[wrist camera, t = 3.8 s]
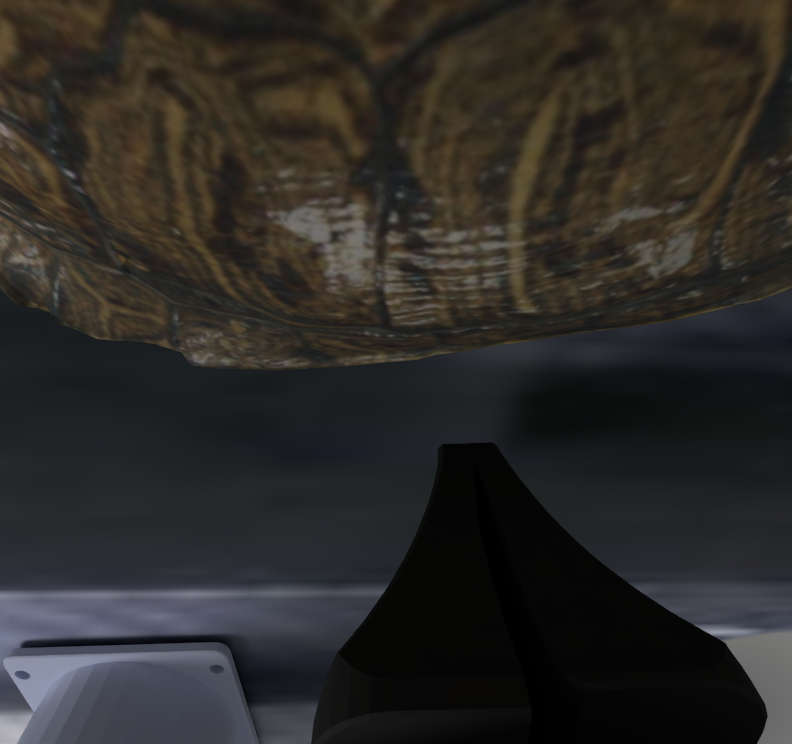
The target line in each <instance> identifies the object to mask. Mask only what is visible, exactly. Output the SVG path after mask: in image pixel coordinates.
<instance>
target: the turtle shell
mask: <svg viewBox="0 0 792 744" xmlns="http://www.w3.org/2000/svg"><path fill="white" fill-rule="evenodd" d="M789 289H792V0H0V290H1V291H2V293H3V294H5V295H6V296H7V297H9V298H10V299H11V300H13V301H14V302H15V303H16V304H18V305H19V306H26V307H34V308H39V309H42V310H46V311H48V312H49V315H50V319H51V322H52V324H57V325H63V326H68V327H71V328H73V329H76V330H78V331H81V332H84V333H86V334H88V335H90V336H92V337H94V338H96V339H104V340H127V341H136V342H145V343H154V344H157V345H160V346H163V347H166V348H169V349H172V350H176V351H179V352H181V353H182V354H183V355H184V356H185V358H186V359H187V360H188V361H189V362H190V364H191V365H192V366H197V367H205V368H214V369H260V370H294V369H304V368H315V367H338V366H352V365H361V364H370V363H379V362H393V361H406V360H417V359H421V358H425V357H429V356H433V355H438V354H446V353H454V352H462V351H467V350H472V349H477V348H482V347H487V346H493V345H501V344H509V343H517V342H525V341H531V340H538V339H544V338H551V337H557V336H564V335H570V334H576V333H583V332H592V331H600V330H609V329H617V328H626V327H634V326H640V325H647V324H653V323H660V322H667V321H673V320H677V319H681V318H685V317H689V316H694V315H698V314H702V313H706V312H711V311H715V310H719V309H723V308H727V307H732V306H736V305H741V304H745V303H750V302H754V301H759V300H761V299H764V298H767V297H770V296H772V295H775V294H778V293H781V292H784V291H786V290H789Z"/></svg>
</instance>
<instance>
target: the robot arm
mask: <svg viewBox="0 0 792 744" xmlns="http://www.w3.org/2000/svg"><path fill="white" fill-rule="evenodd" d="M3 664H4V666H5V668H6V670H7V671H8V673H9V674H10V676H11V677H12V679H13V681H14V682H15V684H16V685H17V687H18V688H19V690H20V691H21V693H22V694H23V696H24V698H25V699H26V701H27V702H28V704H29V705H30V707H31V708H32V710H33V711H34V714H33V716H32V718H31V720H30V721H29V723H28V725H27V727H26V728H25V730H24V732H23V734H22V736H21V737H20V739H19V741H18V743H17V744H259V741H258V737H257V734H256V731H255V728H254V725H253V721H252V718H251V715H250V712H249V708H248V705H247V702H246V699H245V696H244V692H243V689H242V686H241V683H240V679H239V676H238V673H237V670H236V667H235V663H234V660H233V657H232V654H231V651H230V649H229V648H228V646H226V645H225V644H222V643H220V642H200V643H167V644H135V645H103V646H71V647H38V648H17V649H13V650H11V651H10V652H9V653H8V655H7V656H6V658H5V659H4V661H3ZM766 720H767V711H766V707H765V703H764V702H763V700H762V698H761V697H760V695H759V693H758V692H757V690H756V688H755V687H754V685H753V683H752V681H751V680H750V678H749V677H748V675H747V674H746V672H745V670H744V669H743V667H742V666H741V665H740V663H739V662H738V661H737V659H736V658H735V657H734V655H733V654H732V652H731V651H730V650H729V648H728V647H727V645H726V644H725V643H724V642H723V641H721V640H719V639H717V638H716V637H714V636H712V635H710V634H709V633H707V632H705V631H703V630H701V629H700V628H698V627H696V626H694V625H693V624H691V623H689V622H687V621H686V620H684V619H682V618H680V617H679V616H677V615H675V614H674V613H672V612H670V611H669V610H667V609H666V608H664V607H663V606H661V605H659V604H658V603H656V602H655V601H653V600H652V599H650V598H649V597H647V596H646V595H644V594H643V593H641V592H640V591H638V590H637V589H636V588H634V587H633V586H631V585H630V584H629V583H627V582H626V581H625V580H623V579H622V578H621V577H619V576H618V575H617V574H615V573H614V572H613V571H611V570H610V569H609V568H607V567H606V566H605V565H603V564H602V563H601V562H600V561H599V560H597V559H596V558H595V557H594V556H593V555H592V554H590V553H589V552H588V551H587V550H586V549H585V548H584V547H583V546H581V545H580V544H579V543H578V542H577V541H576V540H575V539H574V538H573V537H572V536H571V535H570V534H569V533H568V532H567V531H566V530H565V529H564V528H563V527H562V526H561V525H560V524H559V523H558V522H557V521H556V520H555V519H554V518H553V517H552V516H551V515H550V514H549V513H548V512H547V511H546V509H545V508H544V507H543V506H542V505H541V504H540V503H539V501H538V500H537V499H536V498H535V497H534V495H533V494H532V493H531V492H530V491H529V490H528V488H527V487H526V486H525V485H524V483H523V482H522V481H521V480H520V478H519V477H518V476H517V474H516V473H515V472H514V470H513V469H512V468H511V466H510V465H509V463H508V462H507V461H506V459H505V458H504V456H503V455H502V453H501V452H500V450H499V449H498V447H497V446H496V445H495V444H494V443H468V444H443V445H441V446H440V447H439V448H438V467H437V473H436V477H435V482H434V485H433V489H432V492H431V496H430V499H429V503H428V505H427V508H426V511H425V513H424V516H423V519H422V521H421V524H420V526H419V529H418V531H417V533H416V536H415V538H414V540H413V542H412V544H411V546H410V548H409V550H408V552H407V554H406V556H405V558H404V560H403V562H402V564H401V565H400V567H399V569H398V571H397V572H396V574H395V576H394V578H393V579H392V581H391V583H390V584H389V586H388V587H387V589H386V590H385V592H384V593H383V595H382V596H381V598H380V599H379V600H378V602H377V603H376V605H375V606H374V608H373V609H372V610H371V612H370V613H369V615H368V616H367V618H366V619H365V620H364V621H363V623H362V624H361V625H360V627H359V628H358V629H357V630H356V631H355V632H354V634H353V635H352V636H351V637H350V638H349V640H348V641H347V642H346V643H345V644H344V646H343V647H342V648H341V649H340V650H339V652H338V653H337V654H336V657H335V659H334V662H333V664H332V667H331V669H330V671H329V674H328V676H327V679H326V682H325V685H324V687H323V690H322V693H321V696H320V700H319V703H318V707H317V711H316V715H315V719H314V725H313V733H312V742H311V744H757V742H758V740H759V738H760V737H761V735H762V733H763V730H764V727H765V723H766Z"/></svg>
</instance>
